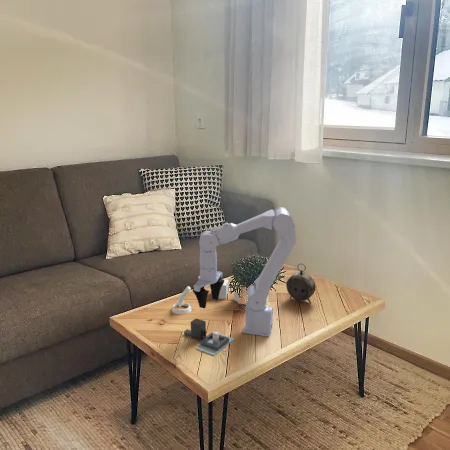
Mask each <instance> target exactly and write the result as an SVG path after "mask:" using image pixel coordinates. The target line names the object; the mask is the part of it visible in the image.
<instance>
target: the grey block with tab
mask: <svg viewBox="0 0 450 450" xmlns="http://www.w3.org/2000/svg"><path fill="white" fill-rule="evenodd" d="M206 323H207V321H206V320H202V319H200V318H195V319H193V320H191V321H190V329H189V328H187V329H185V330H184V331H183V335H184V336H186V337H190V338H191V339H193V340H197V341H198V342H199V346H200V345H202V346H205V347H208V348H211V349H214V350H219V349H220V348H221V347H222V346H224V345H225V344H226V343H227V342H229V338H228V337H229V336H228V337H225V336H226V335H225V336H222V335H223V334H222V335H219V340H222V341H221V342H220V343H218V344H217V345H215V344H212V343H209V342H208V341H209V340H210V339H212V338H213V332H211V333H209V334H208V335H207V328H206V327H207V324H206Z"/></svg>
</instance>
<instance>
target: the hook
mask: <svg viewBox="0 0 450 450" xmlns="http://www.w3.org/2000/svg"><path fill="white" fill-rule="evenodd" d="M191 289H192V288H191V287H190V286H189V285H188V286H186V288H185V289H184V290H183V291H182V293H181V294H180V295H179V296H178V298H177V302H175V303H174V304H173V305H172V307H171V310H170V311H171V312H172V313H173V314H176V315H185V314H189V313H191V312H192V307H191V305H190V303H188V302H185V301H184V299H185V298H186V297H187V295H188V294H189V293H190V292H191ZM183 306H184V307H187V308H184V309H179V308H181V307H183ZM176 307H177V308H176Z"/></svg>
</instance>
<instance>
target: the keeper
mask: <svg viewBox="0 0 450 450" xmlns="http://www.w3.org/2000/svg"><path fill="white" fill-rule="evenodd" d="M212 333H213V338H212V339H210V340H209V341H208V342H209V343H212V344H215V345H217V344H218V343H220V342H221V341H222V340H219V335H222V336H225V337H228V338H229V342H227V343H226V344H225V345H224V346H222V347H221V348H220V349H219V350H214V349H211V348H208V347H205V346H202V345H200V344H199V346H197V347H196V348H195V349H196V350H197V351H201V352H202V353H206V354H208V355H211V356H216V355H217V354H218V353H220V352H221V351H222V350H224V348H226V347H227V346H229V344H231V343H232V342H233V341H235V338H234V337H230V336H227V335H224V334H221V333H219V331H213V332H212Z"/></svg>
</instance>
